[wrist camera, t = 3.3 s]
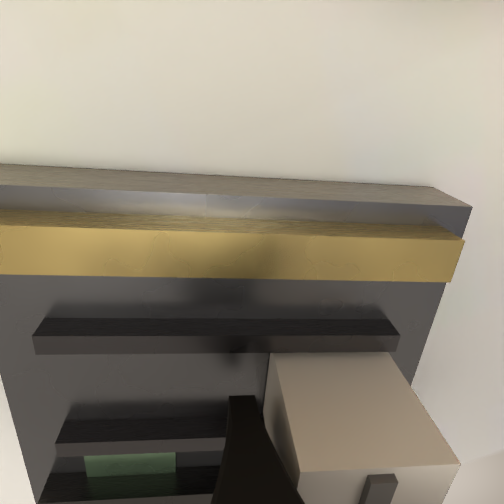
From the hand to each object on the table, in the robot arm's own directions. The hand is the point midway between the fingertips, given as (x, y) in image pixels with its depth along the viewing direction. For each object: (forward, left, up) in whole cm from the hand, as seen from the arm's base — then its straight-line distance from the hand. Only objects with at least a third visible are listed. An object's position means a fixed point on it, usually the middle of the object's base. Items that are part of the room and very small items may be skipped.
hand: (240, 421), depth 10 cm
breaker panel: (0, 0, -4) cm, 4 cm away
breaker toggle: (-3, 0, -2) cm, 3 cm away
